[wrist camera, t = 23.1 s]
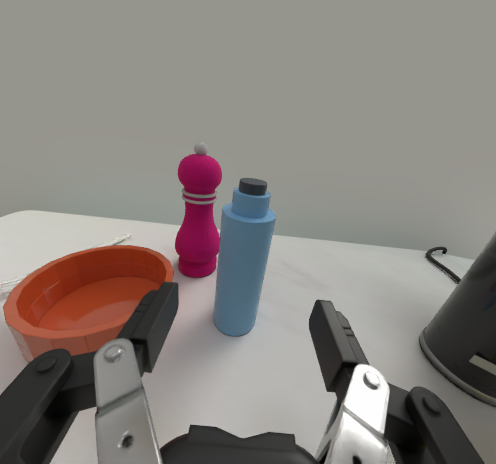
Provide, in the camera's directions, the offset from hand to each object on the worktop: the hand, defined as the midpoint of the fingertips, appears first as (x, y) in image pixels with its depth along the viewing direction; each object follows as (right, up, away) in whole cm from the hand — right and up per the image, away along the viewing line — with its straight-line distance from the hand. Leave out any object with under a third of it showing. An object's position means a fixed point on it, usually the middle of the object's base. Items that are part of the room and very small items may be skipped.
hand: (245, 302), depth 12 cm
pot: (-17, -6, +13) cm, 22 cm away
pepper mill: (-9, -2, +24) cm, 26 cm away
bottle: (-2, -7, +15) cm, 17 cm away
